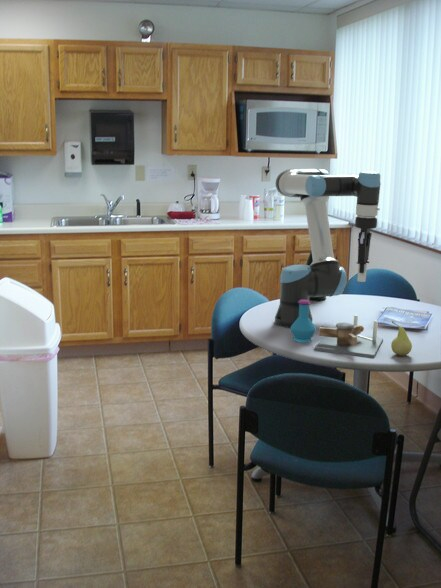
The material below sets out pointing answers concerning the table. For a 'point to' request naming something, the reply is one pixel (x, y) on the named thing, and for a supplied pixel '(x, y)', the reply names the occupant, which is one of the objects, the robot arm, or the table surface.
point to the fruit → (401, 343)
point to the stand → (363, 348)
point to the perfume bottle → (303, 324)
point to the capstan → (342, 333)
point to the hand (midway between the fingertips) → (361, 281)
